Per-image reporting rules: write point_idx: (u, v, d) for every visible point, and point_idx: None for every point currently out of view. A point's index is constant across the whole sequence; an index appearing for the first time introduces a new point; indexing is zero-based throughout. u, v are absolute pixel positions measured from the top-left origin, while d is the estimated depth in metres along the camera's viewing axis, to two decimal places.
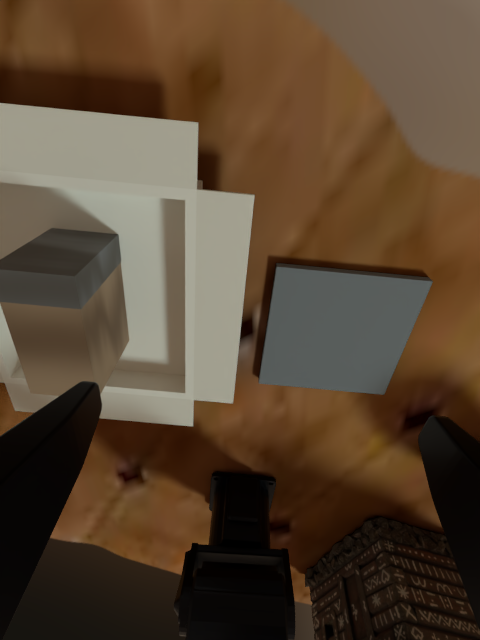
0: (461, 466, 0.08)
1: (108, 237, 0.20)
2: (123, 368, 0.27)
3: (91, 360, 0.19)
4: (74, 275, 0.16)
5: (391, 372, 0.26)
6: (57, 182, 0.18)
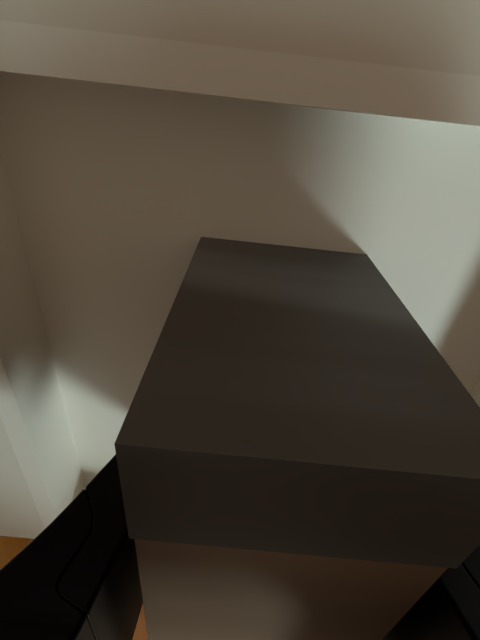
0: None
1: (363, 265, 0.08)
2: None
3: None
4: None
5: None
6: (320, 84, 0.05)
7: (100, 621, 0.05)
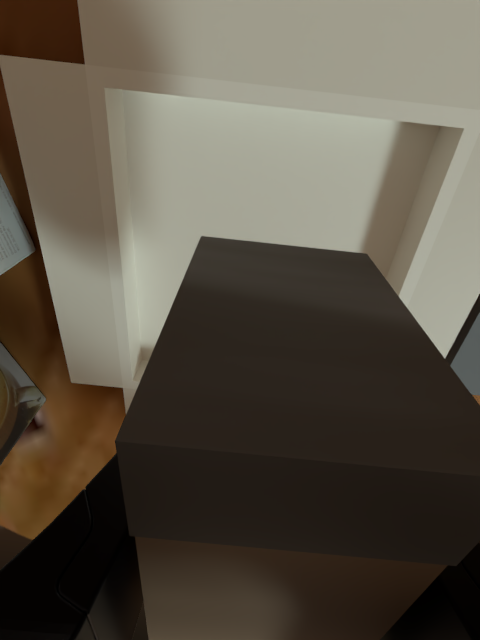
0: None
1: (363, 264, 0.08)
2: None
3: None
4: None
5: None
6: (283, 98, 0.12)
7: (100, 621, 0.05)
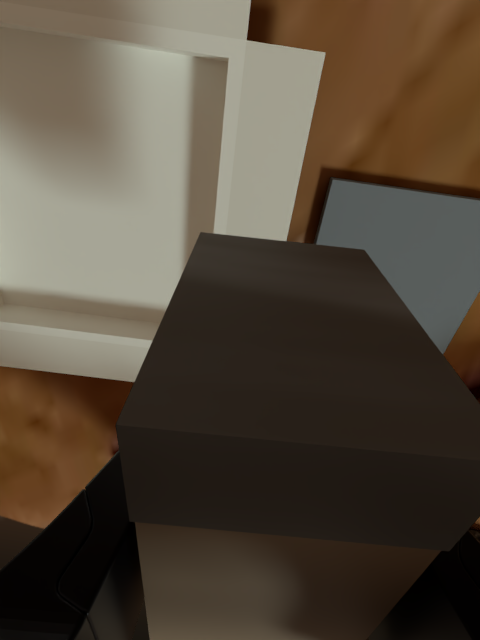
0: None
1: (360, 260, 0.08)
2: (126, 316, 0.22)
3: (364, 629, 0.06)
4: None
5: (453, 331, 0.21)
6: (52, 20, 0.13)
7: (100, 621, 0.05)
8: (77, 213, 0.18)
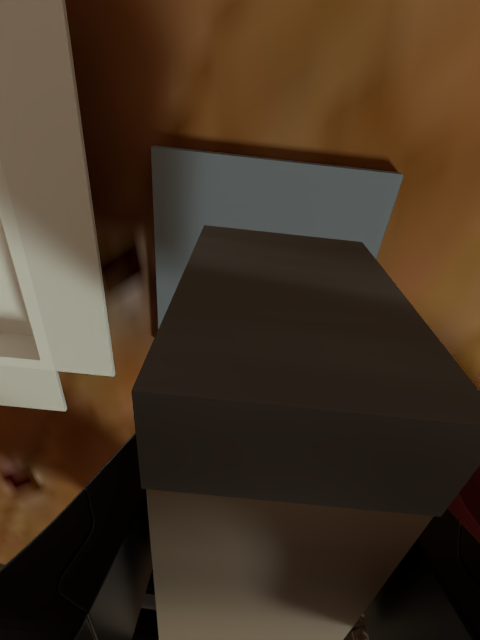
0: None
1: (358, 251, 0.08)
2: None
3: (362, 602, 0.07)
4: None
5: None
6: None
7: (99, 621, 0.05)
8: None
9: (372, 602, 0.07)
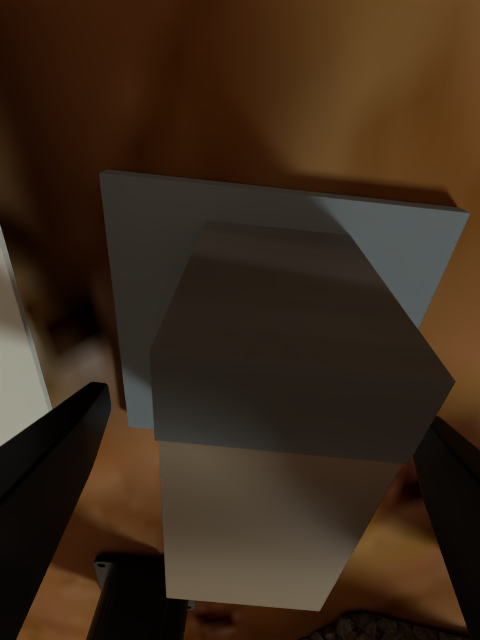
0: (450, 465, 0.08)
1: (346, 243, 0.09)
2: None
3: (346, 552, 0.08)
4: (452, 379, 0.05)
5: None
6: None
7: None
8: None
9: (478, 612, 0.07)
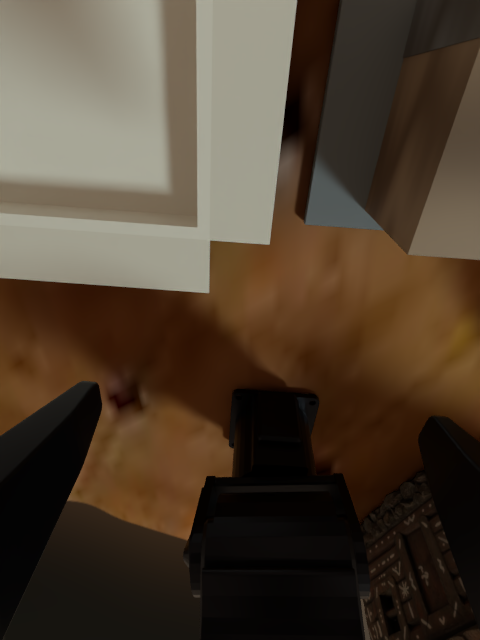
0: (461, 466, 0.08)
1: None
2: (104, 205, 0.18)
3: None
4: None
5: None
6: None
7: None
8: (29, 53, 0.15)
9: None
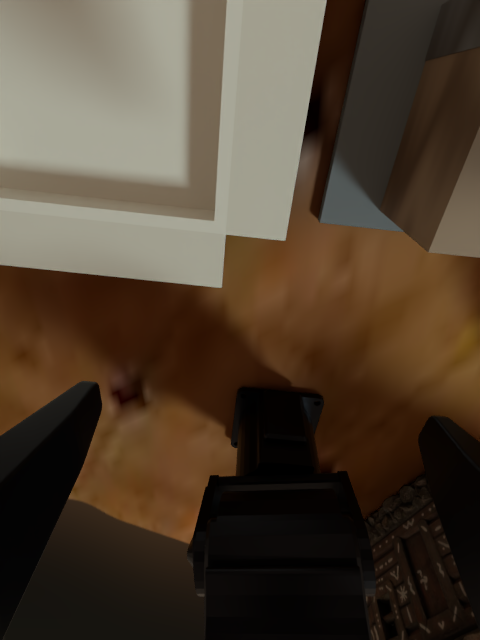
0: (461, 466, 0.08)
1: None
2: (120, 196, 0.18)
3: None
4: None
5: None
6: None
7: None
8: (53, 40, 0.15)
9: None
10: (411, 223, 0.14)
